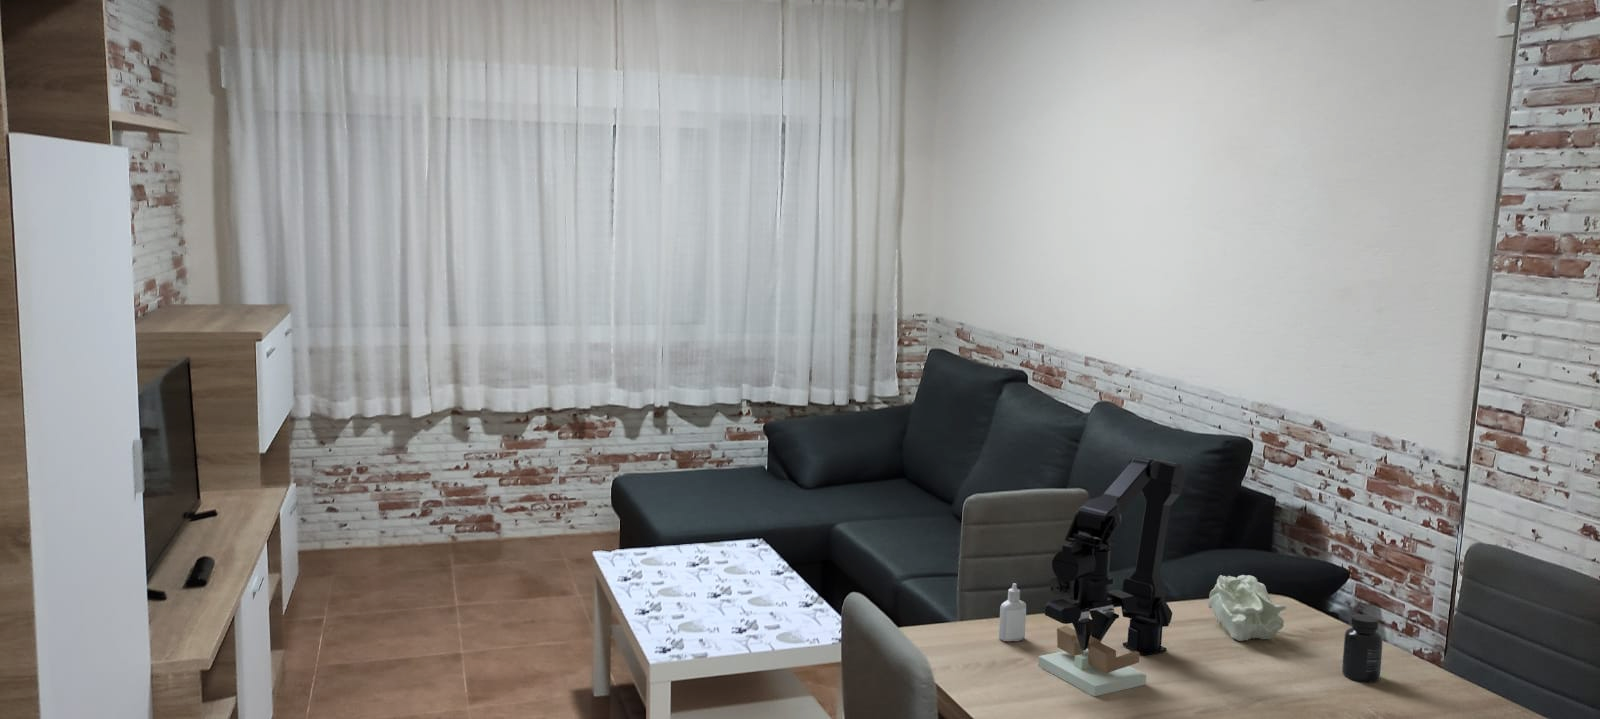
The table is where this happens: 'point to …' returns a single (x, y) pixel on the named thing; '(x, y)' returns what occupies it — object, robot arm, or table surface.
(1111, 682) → the stand
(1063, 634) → the brown c-shaped bracket
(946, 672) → the table surface
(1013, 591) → the eye dropper bottle
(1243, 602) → the folded clay sculpture
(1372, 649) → the supplement bottle
